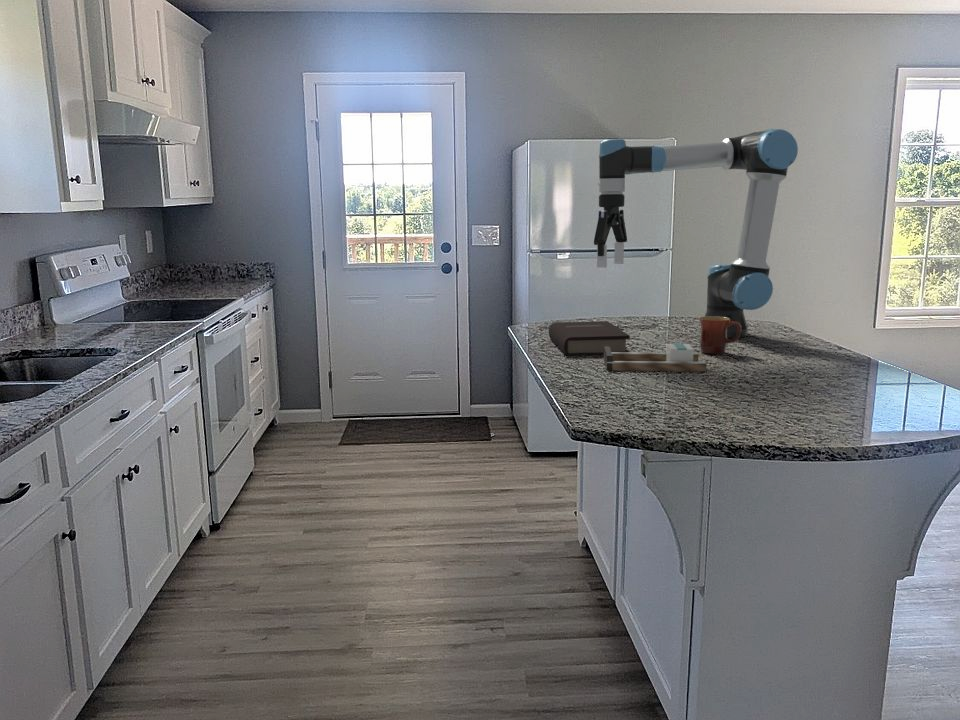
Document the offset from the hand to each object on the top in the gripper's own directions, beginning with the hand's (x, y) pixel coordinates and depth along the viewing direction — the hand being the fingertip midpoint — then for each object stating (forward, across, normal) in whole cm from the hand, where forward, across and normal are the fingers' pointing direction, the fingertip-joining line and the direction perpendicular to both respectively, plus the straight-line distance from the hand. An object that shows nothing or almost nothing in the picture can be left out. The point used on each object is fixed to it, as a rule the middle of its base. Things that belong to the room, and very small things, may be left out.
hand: (610, 265), depth 238 cm
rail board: (+25, +20, +21) cm, 38 cm away
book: (+26, +2, -7) cm, 27 cm away
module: (+25, +17, +27) cm, 40 cm away
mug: (+25, -6, +32) cm, 41 cm away
